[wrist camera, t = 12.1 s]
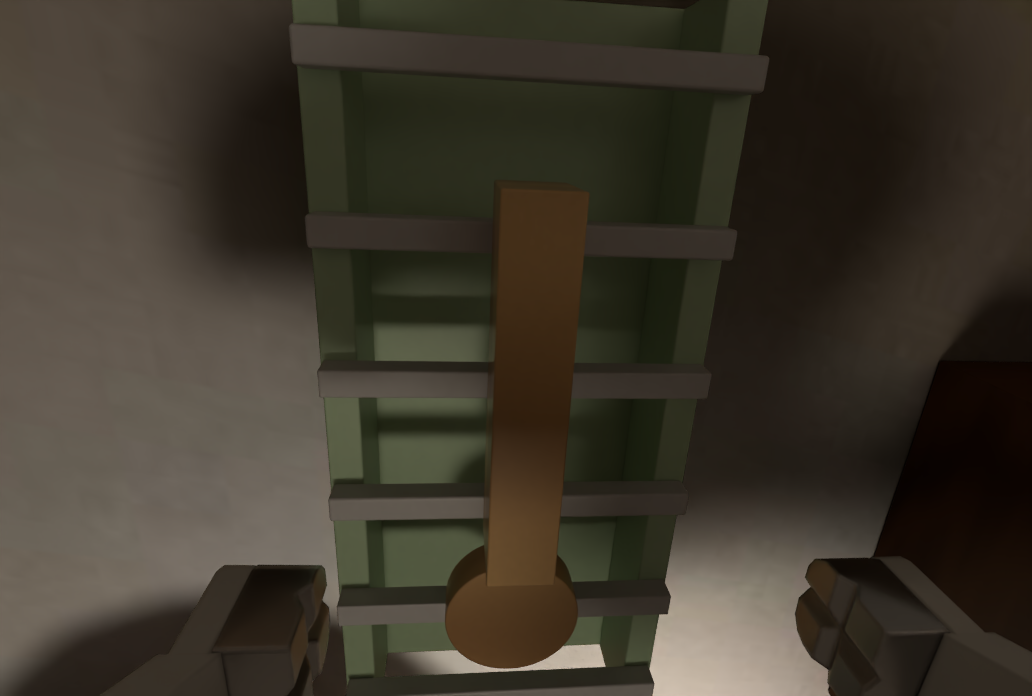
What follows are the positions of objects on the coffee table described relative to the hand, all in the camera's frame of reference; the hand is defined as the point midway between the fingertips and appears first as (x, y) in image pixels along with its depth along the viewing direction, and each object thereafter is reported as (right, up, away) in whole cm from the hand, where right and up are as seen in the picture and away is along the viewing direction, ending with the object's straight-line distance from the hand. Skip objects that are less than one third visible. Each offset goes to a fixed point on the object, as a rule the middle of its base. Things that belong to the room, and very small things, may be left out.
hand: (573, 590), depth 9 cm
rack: (-1, +3, +11) cm, 12 cm away
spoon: (-1, +1, +7) cm, 7 cm away
